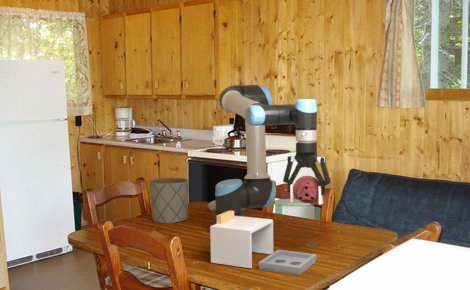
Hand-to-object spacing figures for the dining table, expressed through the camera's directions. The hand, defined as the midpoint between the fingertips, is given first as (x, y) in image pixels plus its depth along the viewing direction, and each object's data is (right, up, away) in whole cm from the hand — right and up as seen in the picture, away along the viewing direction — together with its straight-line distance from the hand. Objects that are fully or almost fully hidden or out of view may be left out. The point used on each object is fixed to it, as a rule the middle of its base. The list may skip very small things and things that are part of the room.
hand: (306, 202), depth 196 cm
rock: (-30, -14, +90) cm, 95 cm away
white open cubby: (-23, -21, +3) cm, 31 cm away
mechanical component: (0, -1, 0) cm, 1 cm away
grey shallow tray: (-7, -21, -6) cm, 23 cm away
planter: (-58, -16, +67) cm, 90 cm away
